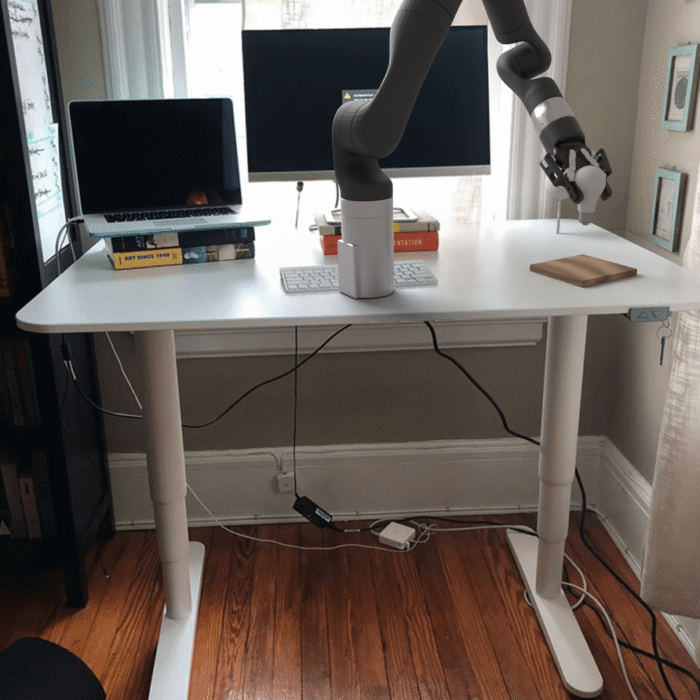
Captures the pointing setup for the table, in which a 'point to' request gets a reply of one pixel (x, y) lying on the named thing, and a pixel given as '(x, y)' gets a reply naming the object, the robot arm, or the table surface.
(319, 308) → the table surface
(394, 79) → the robot arm
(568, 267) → the walnut board
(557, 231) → the lollipop
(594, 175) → the lightbulb
